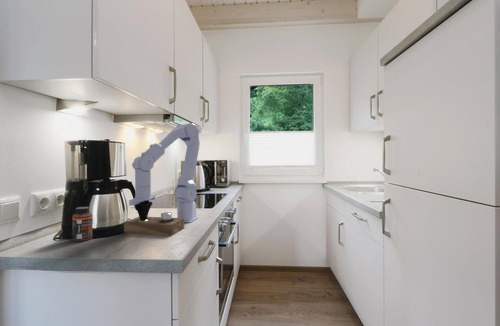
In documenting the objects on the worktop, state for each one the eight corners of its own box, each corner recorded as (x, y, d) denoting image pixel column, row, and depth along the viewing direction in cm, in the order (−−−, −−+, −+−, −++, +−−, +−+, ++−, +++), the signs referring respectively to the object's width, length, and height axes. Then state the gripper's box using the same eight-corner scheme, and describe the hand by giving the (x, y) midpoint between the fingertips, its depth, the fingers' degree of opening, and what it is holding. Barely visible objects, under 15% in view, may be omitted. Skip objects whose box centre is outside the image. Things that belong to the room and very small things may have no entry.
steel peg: (164, 220, 104) (164, 212, 104) (173, 221, 103) (173, 212, 103) (159, 223, 100) (159, 214, 100) (168, 223, 99) (168, 214, 99)
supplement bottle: (82, 242, 88) (82, 209, 88) (68, 241, 89) (67, 208, 89) (96, 237, 94) (96, 206, 94) (82, 236, 95) (82, 205, 95)
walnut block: (140, 225, 110) (139, 216, 109) (184, 228, 106) (183, 218, 106) (124, 232, 100) (124, 222, 100) (172, 235, 96) (172, 224, 96)
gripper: (144, 184, 111) (145, 215, 111) (121, 188, 97) (122, 224, 97) (159, 184, 110) (160, 216, 110) (138, 188, 95) (139, 225, 96)
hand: (143, 220), depth 104 cm, fingers closed, pressing on brass peg
